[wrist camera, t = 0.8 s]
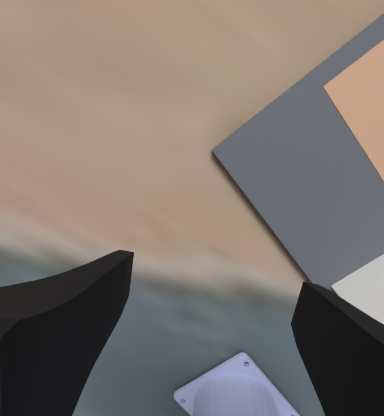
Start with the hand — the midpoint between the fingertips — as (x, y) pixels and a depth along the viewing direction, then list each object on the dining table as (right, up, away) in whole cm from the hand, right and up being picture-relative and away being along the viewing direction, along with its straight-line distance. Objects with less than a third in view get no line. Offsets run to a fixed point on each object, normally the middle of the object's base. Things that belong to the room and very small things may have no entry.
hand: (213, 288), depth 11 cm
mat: (+14, +4, +8) cm, 16 cm away
